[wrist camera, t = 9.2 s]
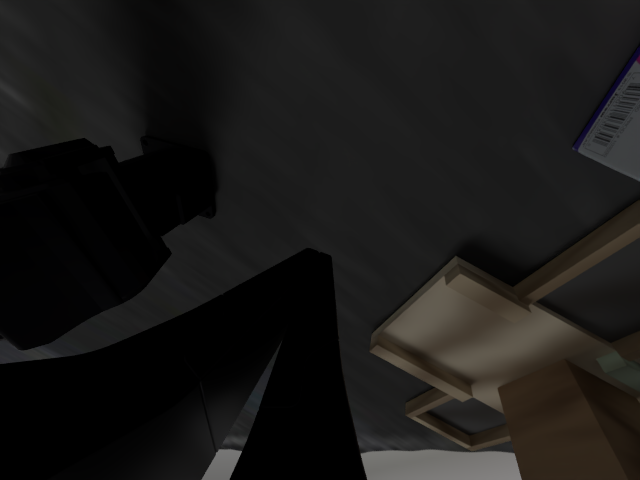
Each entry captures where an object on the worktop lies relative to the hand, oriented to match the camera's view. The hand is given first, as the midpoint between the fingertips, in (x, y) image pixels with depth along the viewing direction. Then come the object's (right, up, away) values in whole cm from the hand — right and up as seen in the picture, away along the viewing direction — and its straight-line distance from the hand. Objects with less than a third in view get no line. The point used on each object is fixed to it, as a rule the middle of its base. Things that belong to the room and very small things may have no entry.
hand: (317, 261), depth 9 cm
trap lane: (+18, -10, +16) cm, 26 cm away
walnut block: (+22, -13, +15) cm, 30 cm away
